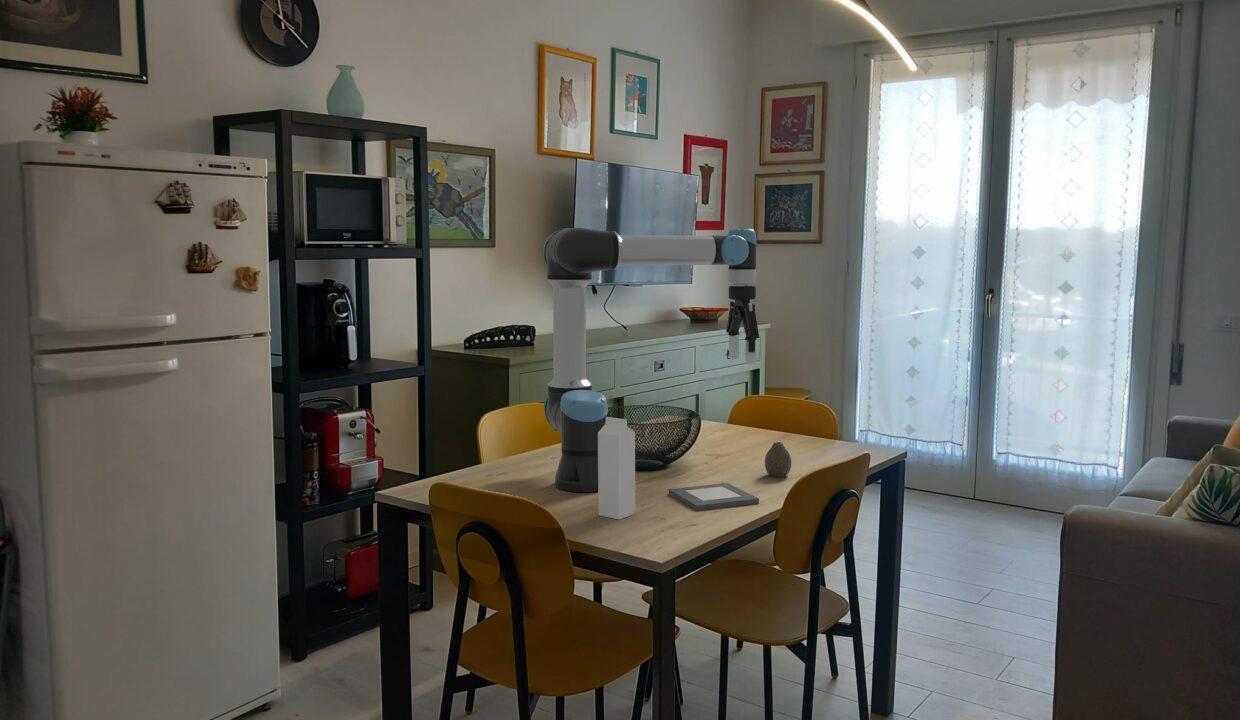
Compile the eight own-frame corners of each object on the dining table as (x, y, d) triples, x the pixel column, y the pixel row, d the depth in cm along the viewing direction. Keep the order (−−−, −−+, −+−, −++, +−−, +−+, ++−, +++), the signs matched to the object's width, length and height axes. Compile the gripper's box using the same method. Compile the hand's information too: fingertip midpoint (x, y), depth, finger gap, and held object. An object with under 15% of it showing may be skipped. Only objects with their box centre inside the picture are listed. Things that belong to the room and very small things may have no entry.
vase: (793, 478, 243) (793, 445, 242) (766, 479, 244) (766, 445, 243) (788, 472, 250) (789, 440, 249) (762, 472, 250) (763, 440, 249)
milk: (614, 509, 216) (614, 414, 214) (635, 514, 212) (635, 417, 210) (597, 515, 211) (597, 418, 209) (619, 520, 207) (618, 421, 205)
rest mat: (697, 510, 214) (697, 505, 214) (668, 493, 229) (668, 488, 229) (758, 503, 220) (759, 498, 220) (727, 487, 235) (727, 482, 235)
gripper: (771, 286, 249) (771, 365, 252) (740, 283, 274) (739, 355, 276) (744, 287, 248) (744, 367, 250) (715, 283, 272) (715, 356, 275)
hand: (741, 361), depth 263 cm, fingers open, 13 cm apart
